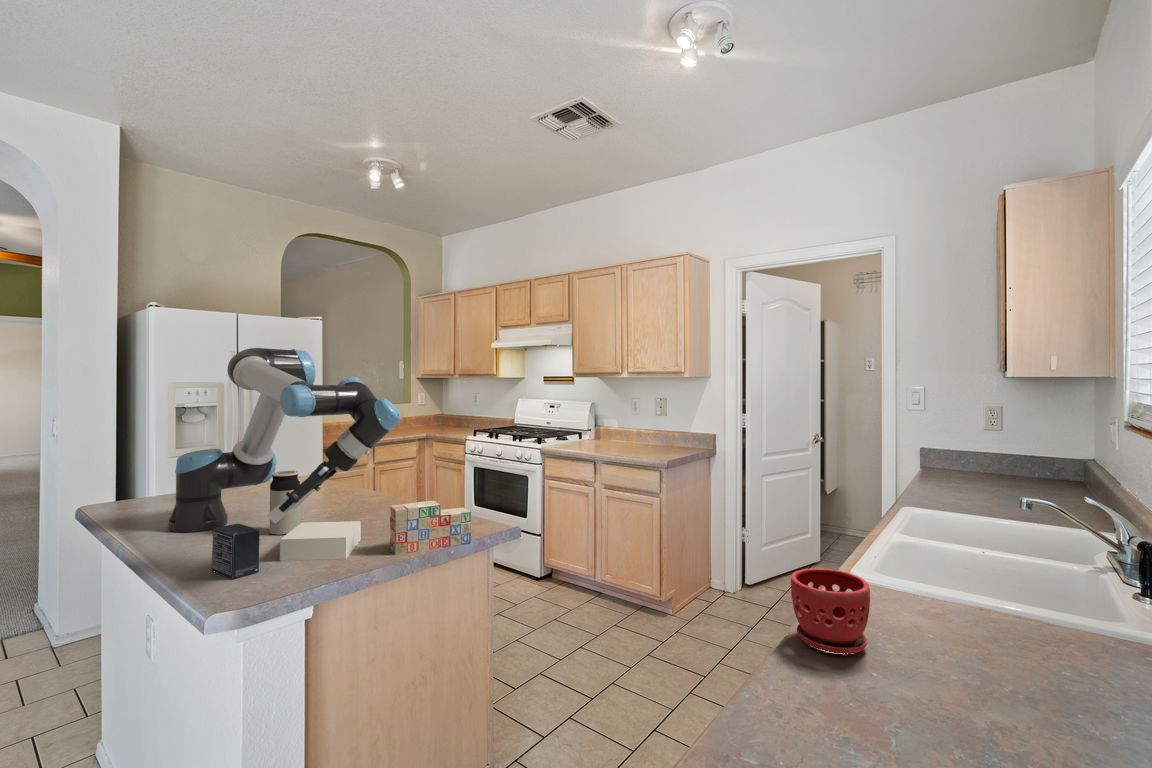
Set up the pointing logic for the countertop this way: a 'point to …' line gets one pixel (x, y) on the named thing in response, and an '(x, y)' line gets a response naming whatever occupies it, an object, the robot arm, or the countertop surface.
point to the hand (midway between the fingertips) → (281, 512)
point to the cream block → (320, 541)
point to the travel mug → (278, 490)
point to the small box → (235, 550)
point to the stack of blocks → (427, 527)
